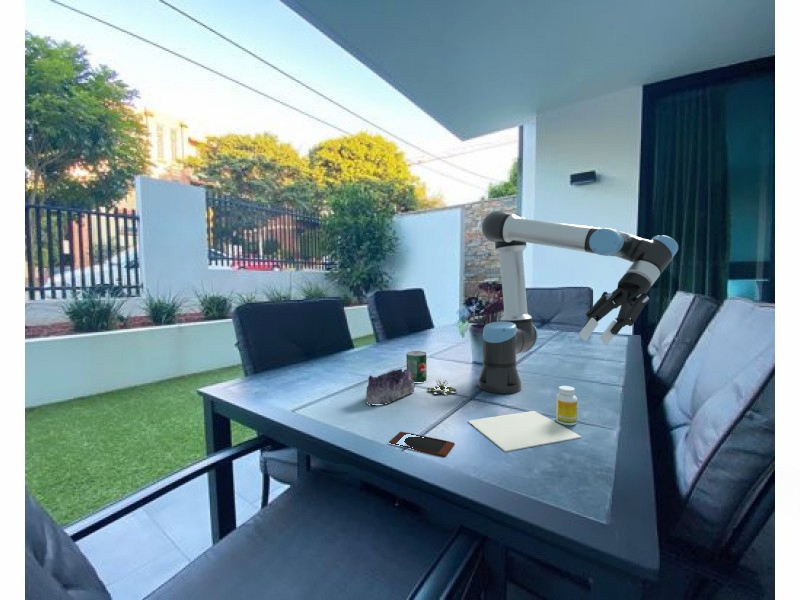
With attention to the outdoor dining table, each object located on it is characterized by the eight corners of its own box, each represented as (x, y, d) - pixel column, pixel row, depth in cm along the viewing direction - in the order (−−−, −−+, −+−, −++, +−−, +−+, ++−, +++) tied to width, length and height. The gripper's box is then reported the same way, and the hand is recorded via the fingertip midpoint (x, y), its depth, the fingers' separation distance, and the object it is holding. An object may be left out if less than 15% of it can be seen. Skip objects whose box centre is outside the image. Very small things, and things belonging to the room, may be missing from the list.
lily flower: (452, 386, 132) (452, 374, 132) (463, 396, 120) (463, 383, 120) (421, 388, 130) (421, 376, 130) (429, 399, 118) (429, 385, 118)
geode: (387, 411, 108) (382, 379, 107) (359, 408, 114) (354, 378, 114) (421, 390, 124) (417, 362, 124) (395, 389, 131) (391, 362, 131)
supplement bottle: (552, 418, 100) (552, 385, 99) (570, 417, 100) (571, 384, 100) (561, 426, 95) (561, 391, 94) (580, 425, 95) (581, 390, 94)
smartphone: (400, 430, 92) (455, 441, 85) (400, 434, 92) (455, 445, 85) (387, 442, 86) (445, 455, 79) (387, 445, 86) (445, 459, 79)
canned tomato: (427, 383, 134) (427, 355, 133) (406, 384, 134) (406, 355, 133) (426, 377, 142) (425, 350, 141) (406, 378, 142) (406, 351, 141)
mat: (505, 451, 81) (505, 450, 81) (467, 421, 98) (467, 420, 98) (581, 437, 88) (581, 436, 88) (533, 411, 105) (533, 410, 105)
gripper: (679, 290, 94) (631, 355, 90) (615, 288, 112) (573, 342, 109) (665, 270, 92) (615, 336, 88) (602, 271, 111) (559, 326, 107)
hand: (592, 339), depth 98 cm, fingers open, 6 cm apart
